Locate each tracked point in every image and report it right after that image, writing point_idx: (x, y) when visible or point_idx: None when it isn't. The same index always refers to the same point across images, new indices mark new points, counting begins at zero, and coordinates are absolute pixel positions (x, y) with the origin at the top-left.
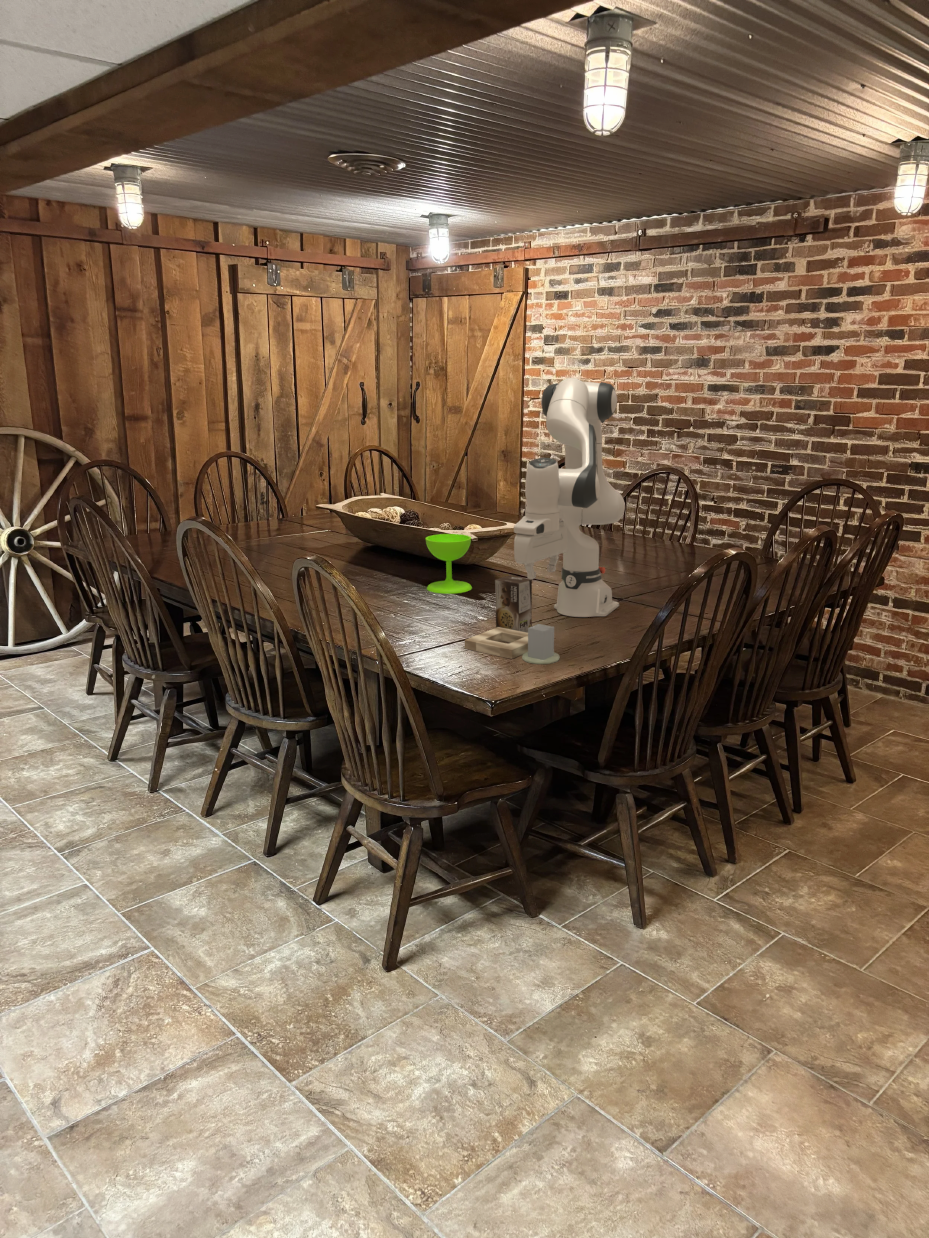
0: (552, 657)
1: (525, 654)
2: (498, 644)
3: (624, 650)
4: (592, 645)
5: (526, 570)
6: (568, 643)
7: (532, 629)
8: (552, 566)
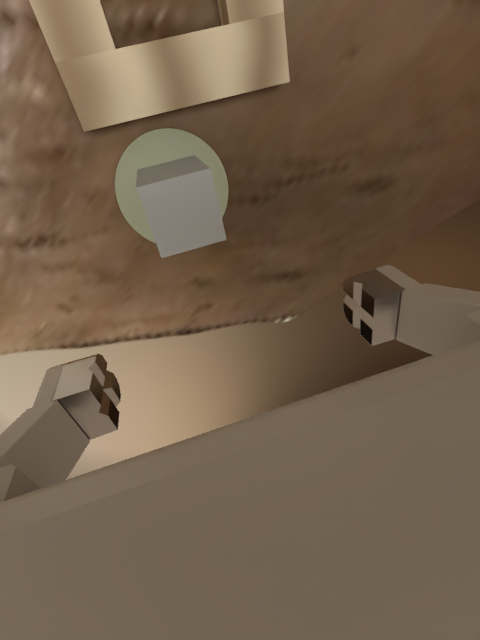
0: None
1: (144, 144)
2: (72, 17)
3: None
4: (354, 198)
5: (12, 425)
6: (333, 135)
7: (144, 208)
8: (369, 340)
